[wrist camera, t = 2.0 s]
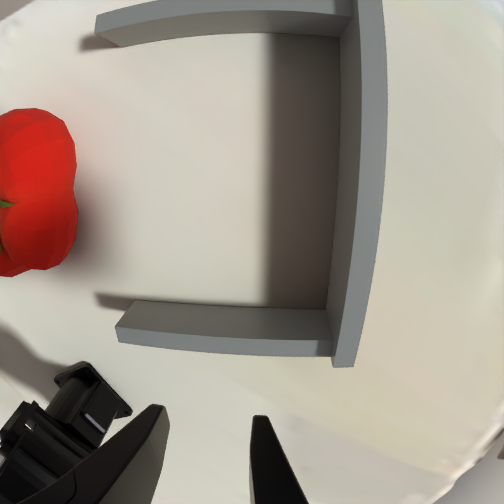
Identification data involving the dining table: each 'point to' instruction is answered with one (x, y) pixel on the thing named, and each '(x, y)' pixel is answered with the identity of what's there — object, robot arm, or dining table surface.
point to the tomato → (35, 191)
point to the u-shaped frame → (348, 190)
